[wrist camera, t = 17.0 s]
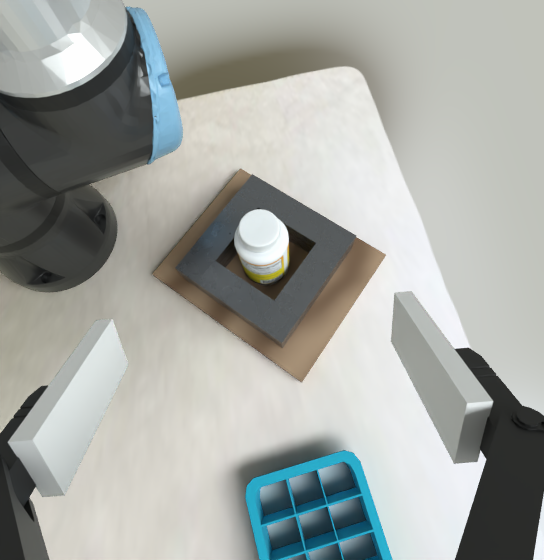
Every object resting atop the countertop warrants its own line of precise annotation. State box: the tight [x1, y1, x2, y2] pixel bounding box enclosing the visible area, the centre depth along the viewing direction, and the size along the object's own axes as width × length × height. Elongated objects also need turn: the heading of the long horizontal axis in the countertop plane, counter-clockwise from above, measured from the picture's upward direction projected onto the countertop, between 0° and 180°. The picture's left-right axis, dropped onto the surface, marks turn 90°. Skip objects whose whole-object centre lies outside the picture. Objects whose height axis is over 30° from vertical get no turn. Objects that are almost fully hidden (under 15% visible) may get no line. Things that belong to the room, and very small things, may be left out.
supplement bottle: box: [234, 209, 289, 285], centre depth 39 cm, size 6×6×10 cm
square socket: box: [175, 174, 356, 348], centre depth 42 cm, size 14×14×4 cm
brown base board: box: [153, 169, 386, 382], centre depth 44 cm, size 22×18×1 cm
